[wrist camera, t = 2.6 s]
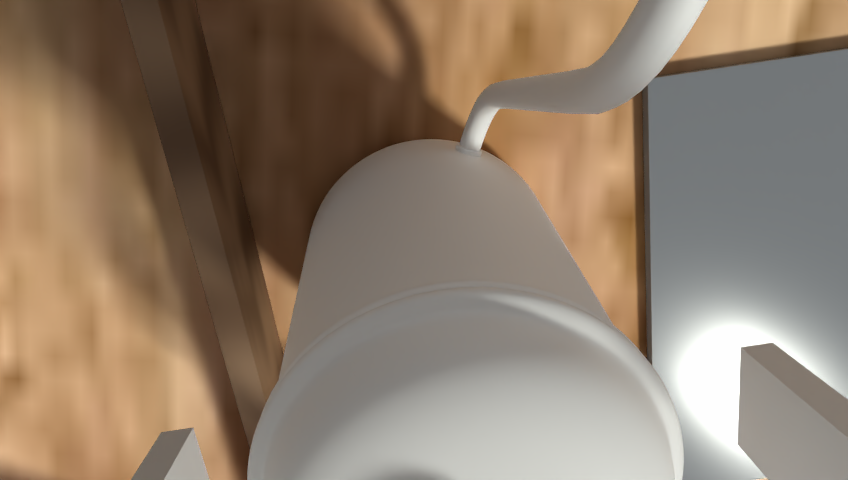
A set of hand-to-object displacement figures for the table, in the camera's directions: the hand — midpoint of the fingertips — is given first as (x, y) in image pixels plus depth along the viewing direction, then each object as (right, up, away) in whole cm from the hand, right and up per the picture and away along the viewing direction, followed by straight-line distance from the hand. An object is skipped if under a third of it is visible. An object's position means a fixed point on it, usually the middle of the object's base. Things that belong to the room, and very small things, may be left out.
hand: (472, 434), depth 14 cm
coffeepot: (-1, +5, +13) cm, 14 cm away
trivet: (+17, +2, +14) cm, 22 cm away
